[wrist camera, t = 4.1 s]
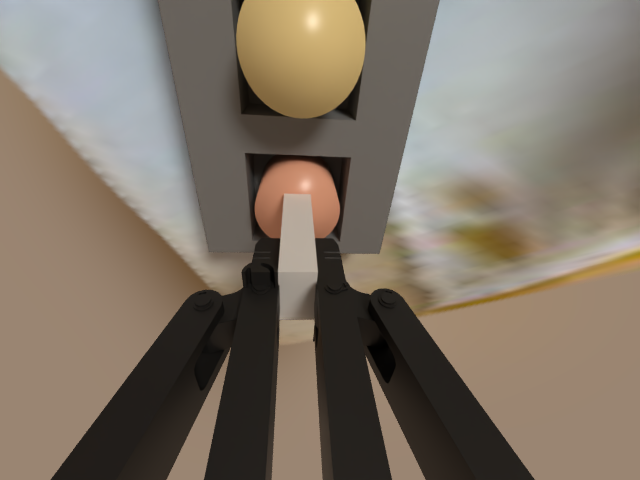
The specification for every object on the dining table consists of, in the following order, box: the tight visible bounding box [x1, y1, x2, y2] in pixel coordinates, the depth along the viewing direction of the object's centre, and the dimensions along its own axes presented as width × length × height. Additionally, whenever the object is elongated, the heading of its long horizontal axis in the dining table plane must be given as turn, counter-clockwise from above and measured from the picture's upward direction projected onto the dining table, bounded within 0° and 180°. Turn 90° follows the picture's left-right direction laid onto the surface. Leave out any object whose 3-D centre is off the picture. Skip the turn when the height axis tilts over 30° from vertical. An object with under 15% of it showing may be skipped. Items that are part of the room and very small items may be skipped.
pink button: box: [255, 154, 340, 238], centre depth 18 cm, size 5×5×4 cm
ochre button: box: [236, 0, 366, 118], centre depth 13 cm, size 5×5×4 cm
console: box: [158, 0, 439, 254], centre depth 15 cm, size 24×12×4 cm, turn 176°
